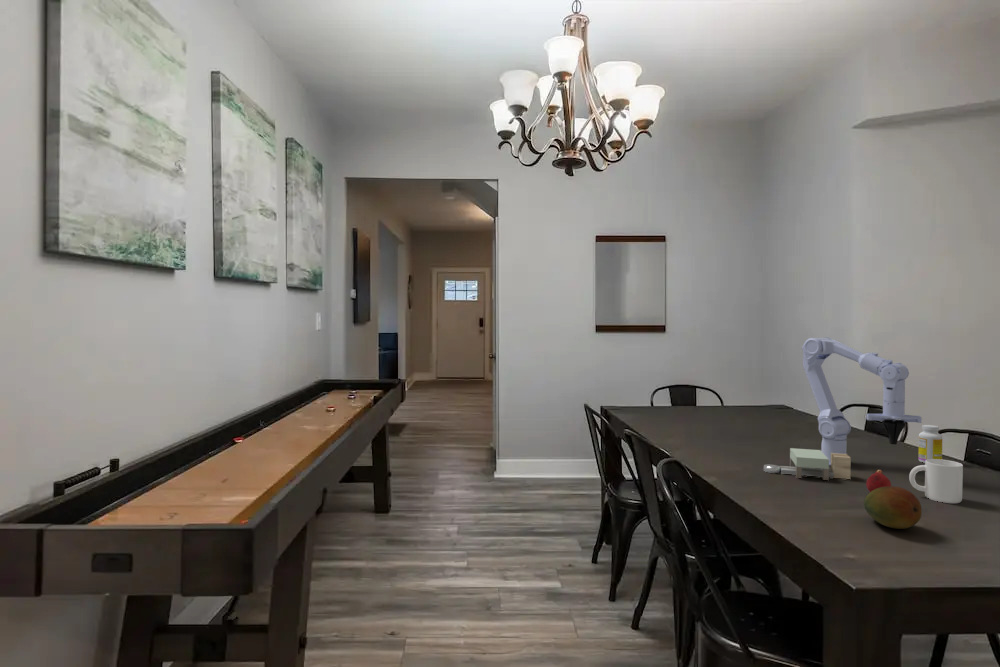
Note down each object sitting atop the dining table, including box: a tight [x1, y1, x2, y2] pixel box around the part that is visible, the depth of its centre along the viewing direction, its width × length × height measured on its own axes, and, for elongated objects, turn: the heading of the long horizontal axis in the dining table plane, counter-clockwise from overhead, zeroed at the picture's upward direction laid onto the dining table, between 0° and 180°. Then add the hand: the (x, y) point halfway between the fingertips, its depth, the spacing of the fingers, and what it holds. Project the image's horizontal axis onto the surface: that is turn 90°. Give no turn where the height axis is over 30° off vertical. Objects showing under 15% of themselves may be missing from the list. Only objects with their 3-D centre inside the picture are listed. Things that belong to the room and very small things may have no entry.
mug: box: [908, 459, 964, 504], centre depth 161 cm, size 12×8×10 cm
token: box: [763, 463, 781, 474], centre depth 189 cm, size 5×5×2 cm
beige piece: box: [779, 453, 852, 480], centre depth 185 cm, size 5×20×7 cm, turn 71°
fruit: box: [863, 485, 923, 530], centre depth 139 cm, size 12×13×10 cm
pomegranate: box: [865, 469, 892, 493], centre depth 161 cm, size 6×6×8 cm
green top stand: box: [789, 447, 830, 482], centre depth 185 cm, size 13×9×7 cm
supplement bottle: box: [917, 424, 943, 464], centre depth 200 cm, size 7×7×13 cm
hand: (893, 443), depth 183 cm, fingers closed
